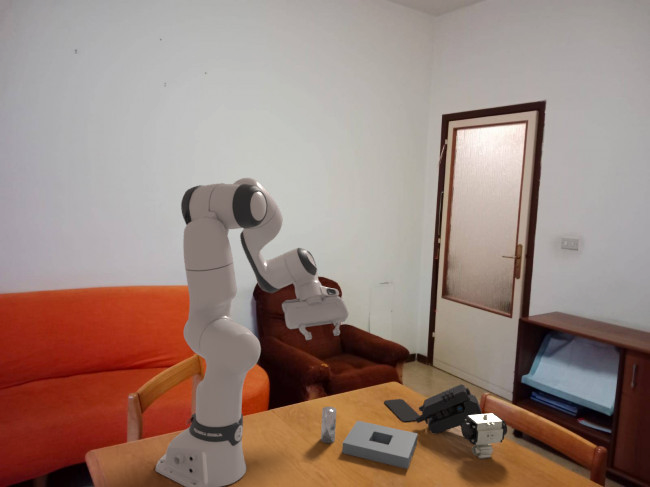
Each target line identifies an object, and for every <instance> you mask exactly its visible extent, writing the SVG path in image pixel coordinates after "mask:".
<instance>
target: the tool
mask: <svg viewBox="0 0 650 487" xmlns="http://www.w3.org/2000/svg"><path fill="white" fill-rule="evenodd" d="M418 410H419V412H421V414H419V415H420V416H417V417H415V419H416V421H415V422H416V423H417V424H419V423H422V422H425V424H426V425H427V427H428V430H429V431H430V433H431V434H433V435H437V434H439V433H442V432H446V431H448V430H451V429H454V428H457V427H461V425H462V423H463V422H466V421H465V419H466V416H468V415H479V414H483V413H482V409H481V406H480V403H479V401H478V398H477V397H476V395H473V394H472V393H471V390H470V389H469V387H466V386H465V384H461V383H460V384H459V385H456V386H453V387H451V388H449V389H446V390H443V391H442V392H440V393H437V394H434V395H433V396H431V397H428V398H426V399H424V401H423V404H422V405H420V406H419V407H418Z"/></svg>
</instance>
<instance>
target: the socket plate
mask: <svg viewBox="0 0 650 487" xmlns="http://www.w3.org/2000/svg"><path fill="white" fill-rule="evenodd" d="M417 443H418V433H417V432H413V431H408V430H403V429H398V428H393V427H389V426H384V425H379V424H375V423H370V422H366V421H362V420H357V421H356V422H355V423H354V425H353V427H352V428H351V429H350V431H349V432H348V434H347V436H346V437H345V439H344V440H343V441H342V451H341V453H342V454H345V455H349V456H353V457H358V458H362V459H366V460H369V461H373V462H377V463H382V464H385V465H388V466H389V465H390V466H393V467H398V468H402V469H406V470H409V467H410V463H411V461H412V458H413V456H414V453H415V450H416V447H417Z"/></svg>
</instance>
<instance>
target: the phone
mask: <svg viewBox="0 0 650 487" xmlns="http://www.w3.org/2000/svg"><path fill="white" fill-rule="evenodd" d="M383 404H384V405H385V406H386V407H387V408H388V410H390V411H391V412H392V414H394V415H395V416H396V417H397V418H398V420H400V422H402V423H411V422H412V421H413V422H416V419H415V417H417V416H420V415H421V414H418V412H416V410H414V409H413V407H411V406H410V404H408V402H406V401H405V400H404V399H402V398H399V399H398V398H397V399H395V398H394V399H387V400H386V399H385V400H384V402H383ZM413 422H412V423H413Z"/></svg>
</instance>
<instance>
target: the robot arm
mask: <svg viewBox="0 0 650 487" xmlns="http://www.w3.org/2000/svg"><path fill="white" fill-rule="evenodd" d="M180 203H181V204H180V207H181V208H180V209H181V213H182V214H181V215H182V217H183V220H184V222H185V225H186V226H185V228H184V230H183V244H182V246H183V248H182V249H183V260H184V268H185V275H186V282H187V288H188V289H187V290H188V295H189V296H188V297H189V308H188V309H189V310H188V318H187V321H186V323H185V324H184V327H183V338H184V340H185V342H186V344H187V345H188V346H189V348H190V349H191V350H192V351H193V353H194V354H197V355H198V356H200V357H201V358H203V359H204V361H205V365H206V368H205V373H204V377H203V379H202V380H201V381H200V382H199V383H198V384H197V386H196V390H195V391H196V392H195V412H194V413H193V414H192V415H191V416H190V417H189V418H188V419H187V420H186V421H185V422H186V423H185V425H186V426H188V425H189V424H190V426H189V427H187V428H186V429H184V430H182V432H180V433H178V434H177V436H175V437H173V439H171V441H170V442H169V444H168V445H167V449H166V452H165V454H163V455H162V457H160V458H159V459H158V461H157V463H156V465H155V472H156V473H158V474H161V475H162V476H164V477H166V478H168V479H169V480H172V481H174V482H176V483H178V484H179V485H181V486H184V487H225V486H228V485H231V484H234V483H235V482H238V480H241V479H242V477H243V476H245V474H246V472H247V464H246V461H245V457H244V451H243V443H242V442H243V441H242V439H243V432H244V431H243V430H244V415H243V413H242V405H243V388H244V382H245V380H246V376H247V374H248V372H249V371H250V370H252V369H253V368H255V366H256V364H257V363H258V361H259V359H260V356H261V352H262V351H261V350H262V348H261V346H262V345H261V343H260V340H259V339H258V337H257V336H256V335H255V334H254V333H253V332H252V331H251V330H250V329H249V328H248V327H246V326H244V325H243V324H240V323H237V322H236V321H234V320H233V318H232V315H231V308H232V307H231V306H232V302H233V299H235V297H236V295H237V292H238V290H237V289H238V288H237V281H236V273H235V266H234V260H233V252H232V248H231V244H230V240H229V235H228V234H229V230H238V229H242V231H241V233H240V235H239V238H240V244H241V247H242V250H243V253H244V254H245V256H246V259H247V260H248V263H249V265H250V267H251V269H252V272H253V274H254V275H255V279H256V282H257V284H258V286H259V288H260V289H261V291H264V292H266V293H269V294H274V293H276V292H278V291H279V290H281V289H282V288H285V287H287V286H289V285H293V286H294V293H295V296H296V298H294V299H286V300H284V302H282V303H281V309H282V311H283V313H284V321H285V325H286V327H287V328H288V329H289V330H293V329H298V330H299V332H300V333H301V334H302V335H303V336H304V337H305V340H306V341H310V340H312V338H313V336H312V335H313V334H312V331H308V330H307V329H306V328H308V327H315V326H316V327H317V326H322V325H329V324H333V326H334V327H335V328H334V329H333V330H332V333H333V336H335V337H336V336H340V334H341V330H340V326H341V325H340V324H341V323H343V322H345V321H346V320H347V319H348V317H349V311H348V309H347V308H348V307H347V305H346V304H345V301H344V300H343V298H342V297H340V296H339V295H340V292H339V290H338V289H336V288H331V287H326V286H324V285H322V283H321V282H320V280H319V274H318V266H317V264H316V261H315V259H314V258H315V257H313V254H312V253H311V252H310V251H309V250H307V249H304V248H302V247H297V248H294V249H291V250H289V251H287V252H284V253H282V254H280V255H278V256H276V257H273V258H271V259H267V260H264V257H263V255H262V253H261V251H262V250H263V248H264V247H265V246H266V245H268V244H269V243H270V242H272V241H273V240H275V238H276V237H277V236H278V235H279V233H280V232H281V229H282V226H283V215H282V212H281V210H280V208H279V206H278V204H277V203H276V201H275V200H274V198H273V196H271V194H270V193H269V191H268V190H267V189H265V187H264V186H263V185H262V184H261V183H260V182H259V181H258V180H256V179H254V178H251V177H243V178H240V179H237V180H236V181H234V182H233V183H222V182H221V183H220V182H219V183H212V184H205V185H203V184H200V185H196V186H192V187H191V188H188V189H187V190H186V191H185V192H184V194H183V196H182V199H181V202H180Z"/></svg>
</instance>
